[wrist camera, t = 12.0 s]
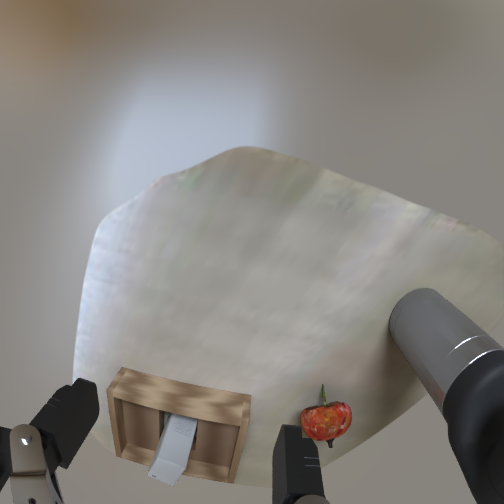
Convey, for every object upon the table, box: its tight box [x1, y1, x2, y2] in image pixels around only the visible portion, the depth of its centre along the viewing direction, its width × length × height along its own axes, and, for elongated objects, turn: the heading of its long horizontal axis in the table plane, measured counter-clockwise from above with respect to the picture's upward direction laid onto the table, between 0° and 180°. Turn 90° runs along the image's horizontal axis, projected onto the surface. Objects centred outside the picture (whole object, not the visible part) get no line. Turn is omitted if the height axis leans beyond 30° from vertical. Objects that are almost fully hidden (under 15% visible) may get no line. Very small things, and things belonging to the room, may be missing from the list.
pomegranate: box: [300, 384, 352, 448], centre depth 41 cm, size 7×7×10 cm
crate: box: [107, 367, 251, 483], centre depth 43 cm, size 20×16×6 cm
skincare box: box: [147, 413, 198, 486], centre depth 40 cm, size 6×4×12 cm
